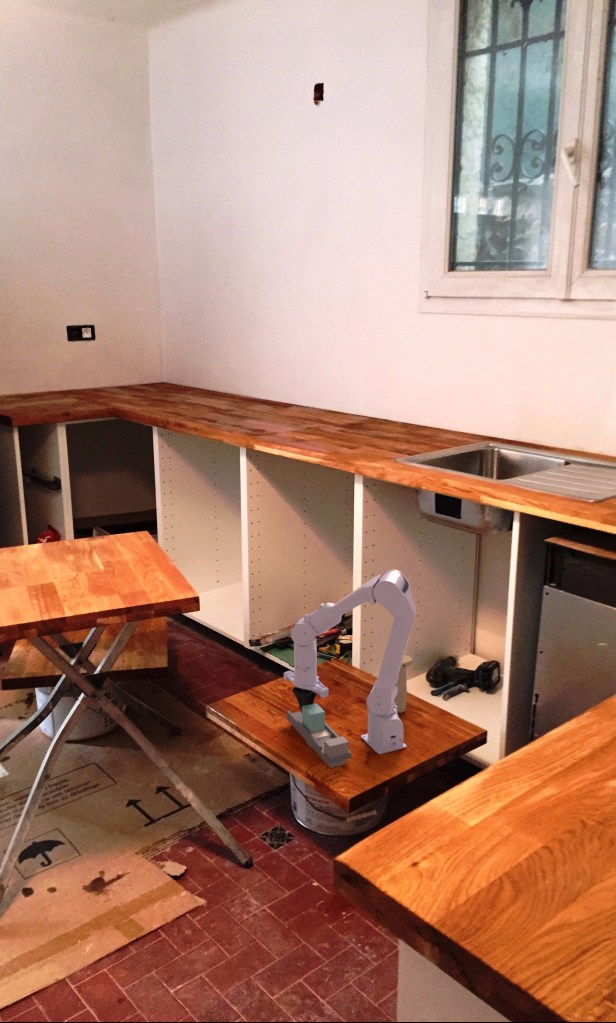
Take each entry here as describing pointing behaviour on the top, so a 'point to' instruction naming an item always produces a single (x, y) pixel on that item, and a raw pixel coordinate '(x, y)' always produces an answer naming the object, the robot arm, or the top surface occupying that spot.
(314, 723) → the rider
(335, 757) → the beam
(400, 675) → the handle
